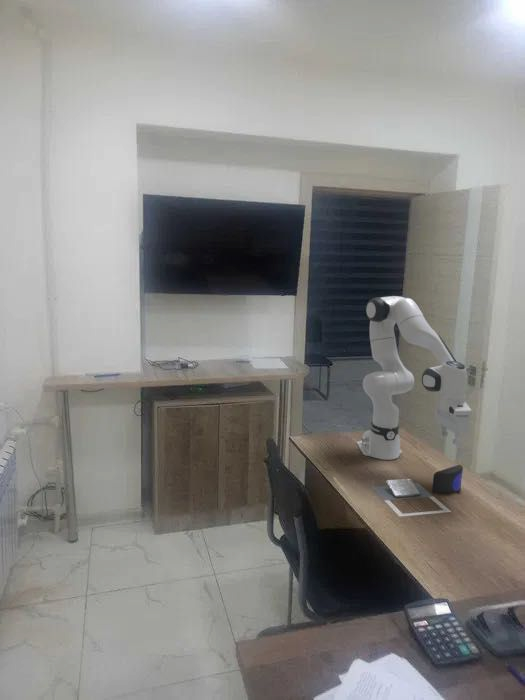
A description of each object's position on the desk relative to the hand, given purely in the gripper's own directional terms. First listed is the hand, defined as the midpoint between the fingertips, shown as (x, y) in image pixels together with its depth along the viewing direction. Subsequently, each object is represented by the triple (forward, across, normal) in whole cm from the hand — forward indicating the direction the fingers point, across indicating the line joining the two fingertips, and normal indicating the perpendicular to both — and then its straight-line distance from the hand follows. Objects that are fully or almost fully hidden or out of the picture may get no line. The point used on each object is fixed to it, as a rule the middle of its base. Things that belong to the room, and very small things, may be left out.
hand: (450, 440), depth 191 cm
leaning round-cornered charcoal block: (+21, -1, 0) cm, 21 cm away
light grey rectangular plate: (+18, +2, -18) cm, 26 cm away
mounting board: (+21, +7, -18) cm, 28 cm away
